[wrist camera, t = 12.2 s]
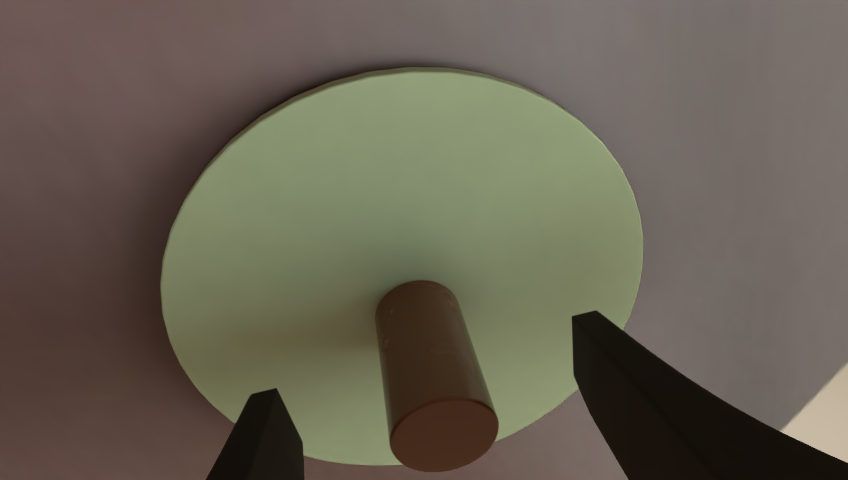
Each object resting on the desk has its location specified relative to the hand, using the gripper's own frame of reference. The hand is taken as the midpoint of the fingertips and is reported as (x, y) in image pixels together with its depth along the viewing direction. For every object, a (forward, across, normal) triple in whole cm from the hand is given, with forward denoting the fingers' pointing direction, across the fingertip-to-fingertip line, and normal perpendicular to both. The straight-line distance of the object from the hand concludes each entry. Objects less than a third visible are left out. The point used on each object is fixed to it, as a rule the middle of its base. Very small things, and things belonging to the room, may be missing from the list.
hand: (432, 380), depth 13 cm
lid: (+3, 0, 0) cm, 3 cm away
